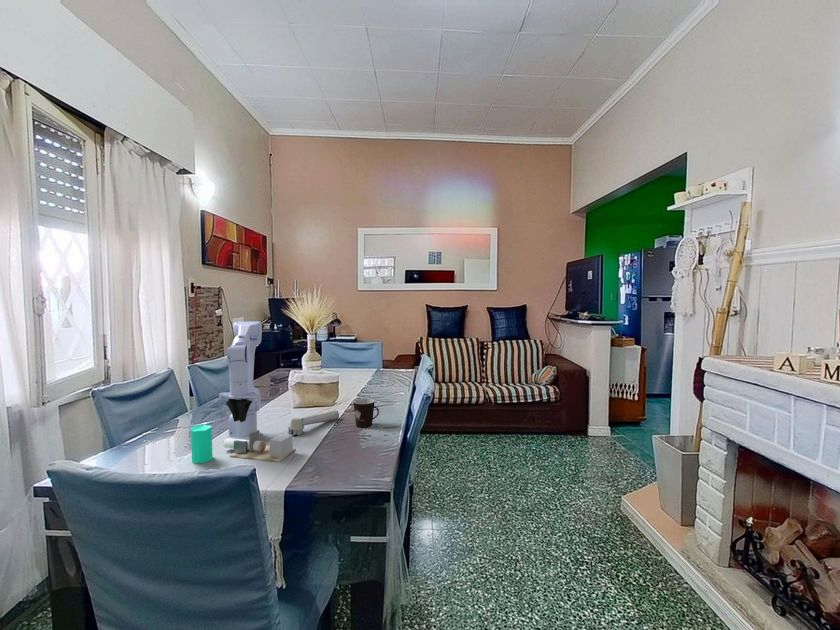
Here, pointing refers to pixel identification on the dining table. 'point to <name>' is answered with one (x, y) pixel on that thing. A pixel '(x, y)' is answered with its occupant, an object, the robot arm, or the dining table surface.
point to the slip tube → (253, 442)
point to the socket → (281, 445)
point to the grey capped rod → (310, 421)
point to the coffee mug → (364, 412)
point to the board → (259, 455)
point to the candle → (201, 443)
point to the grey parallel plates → (241, 446)
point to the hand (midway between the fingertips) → (239, 421)
